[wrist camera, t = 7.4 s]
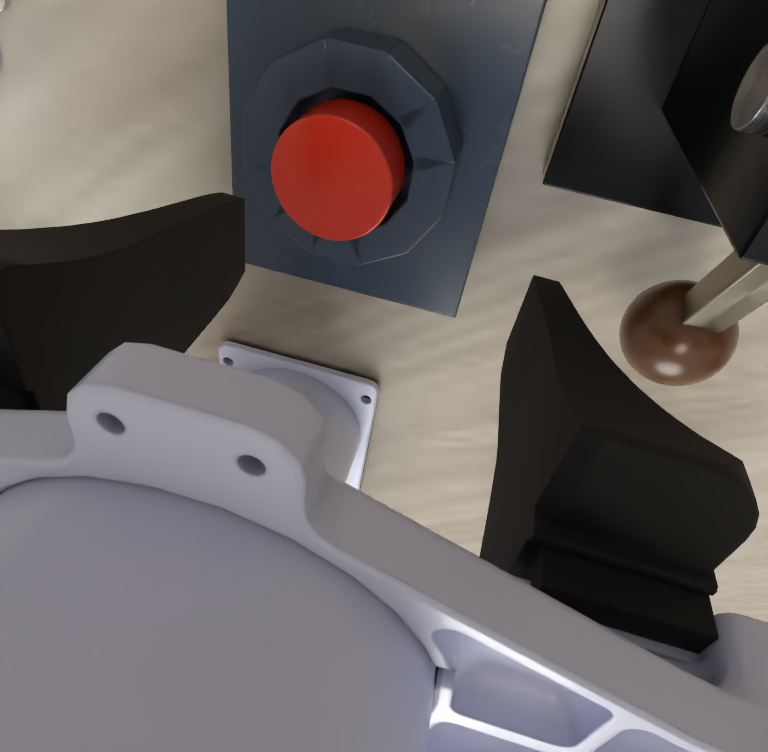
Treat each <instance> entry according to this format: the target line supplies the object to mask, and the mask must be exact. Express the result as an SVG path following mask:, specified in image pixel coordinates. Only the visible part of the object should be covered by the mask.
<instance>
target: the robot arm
mask: <svg viewBox="0 0 768 752" xmlns="http://www.w3.org/2000/svg"><path fill="white" fill-rule="evenodd" d="M244 272H245V199H244V198H241V197H237V196H233V195H229V194H226V193H222V192H221V193H213V194H208V195H204V196H200V197H196V198H192V199H189V200H185V201H181V202H178V203H174V204H171V205H167V206H164V207H160V208H156V209H153V210H149V211H144V212H140V213H136V214H132V215H128V216H123V217H119V218H115V219H110V220H104V221H99V222H93V223H86V224H79V225H71V226H62V227H48V228H35V229H18V230H0V752H768V622H764V621H761V620H758V619H754V618H751V617H748V616H744V615H741V614H735V613H719V614H716V615H713V611H712V606H711V602H710V597H709V595H711V596H713V595H714V594H715V593H716V592H717V588H718V585H717V581H716V577H715V573H714V569H715V568H716V567H718V566H719V565H720V564H721V563H722V562H723V561H724V560H725V559H726V558H727V557H728V556H729V555H731V554H732V553H733V552H734V551H735V550H736V549H737V548H738V547H739V546H740V545H741V544H742V543H744V542H745V541H746V540H747V538H748V537H749V536H750V534H751V533H752V532H753V531H754V529H755V528H756V525H757V521H758V517H759V511H758V506H757V502H756V498H755V495H754V492H753V489H752V486H751V483H750V480H749V477H748V475H747V472H746V469H745V467H744V464H743V462H742V460H740V459H738V458H737V457H735V456H733V455H732V454H730V453H728V452H727V451H725V450H723V449H722V448H720V447H718V446H717V445H715V444H713V443H712V442H710V441H708V440H707V439H705V438H703V437H702V436H700V435H698V434H697V433H695V432H694V431H693V430H691V429H690V428H688V427H687V426H686V425H684V424H683V423H681V422H680V421H678V420H677V419H676V418H674V417H673V416H672V415H670V414H669V413H668V412H666V411H665V410H664V409H663V408H661V407H660V406H659V405H658V404H657V403H655V402H654V401H653V400H652V399H651V398H650V397H648V396H647V395H646V394H645V393H644V392H643V391H641V390H640V389H639V388H638V387H637V386H636V385H635V384H634V383H633V382H632V381H631V380H630V379H629V378H628V377H627V376H626V375H625V374H624V373H623V372H622V371H621V369H620V368H619V367H618V366H617V365H616V364H615V363H614V362H613V361H612V360H611V358H610V357H609V356H608V355H607V353H606V352H605V351H604V350H603V348H602V347H601V346H600V344H599V343H598V342H597V340H596V339H595V338H594V336H593V335H592V333H591V332H590V331H589V329H588V328H587V326H586V325H585V323H584V322H583V320H582V318H581V317H580V315H579V314H578V312H577V310H576V309H575V307H574V305H573V304H572V302H571V300H570V299H569V297H568V295H567V294H566V292H565V290H564V289H563V287H562V285H561V284H560V282H558V281H554V280H550V279H547V278H543V277H539V276H535V275H534V276H533V278H532V281H531V283H530V286H529V288H528V291H527V293H526V296H525V298H524V301H523V303H522V306H521V309H520V311H519V314H518V316H517V319H516V321H515V324H514V326H513V329H512V331H511V334H510V336H509V339H508V341H507V345H506V350H505V356H504V361H503V366H502V372H501V382H500V404H499V429H498V449H497V460H496V467H495V473H494V479H493V485H492V492H491V497H490V503H489V509H488V514H487V520H486V526H485V531H484V536H483V542H482V547H481V552H480V557H478V556H477V555H475V554H473V553H471V552H469V551H467V550H466V549H464V548H462V547H460V546H458V545H457V544H455V543H453V542H451V541H449V540H448V539H446V538H444V537H442V536H440V535H439V534H437V533H435V532H433V531H431V530H430V529H428V528H426V527H424V526H422V525H421V524H419V523H417V522H415V521H413V520H412V519H410V518H408V517H406V516H404V515H403V514H401V513H399V512H397V511H395V510H394V509H392V508H390V507H388V506H386V505H385V504H383V503H381V502H379V501H377V500H376V499H374V498H372V497H370V496H368V495H367V494H365V493H363V492H361V491H359V489H360V484H361V479H362V474H363V469H364V464H365V459H366V454H367V449H368V444H369V439H370V434H371V429H372V424H373V419H374V413H375V408H376V403H377V398H378V393H379V386H378V385H377V383H375V382H374V381H372V380H370V379H366V378H362V377H359V376H355V375H351V374H348V373H344V372H340V371H337V370H333V369H329V368H326V367H322V366H318V365H315V364H311V363H307V362H304V361H300V360H296V359H293V358H289V357H285V356H282V355H278V354H274V353H271V352H267V351H263V350H260V349H256V348H252V347H249V346H245V345H241V344H238V343H234V342H230V341H225V342H223V343H222V344H221V346H220V347H219V350H218V351H219V363H216V362H212V361H209V360H205V359H202V358H198V357H195V356H191V355H188V354H184V353H185V352H186V350H187V349H188V348H189V347H190V346H191V344H192V343H193V342H194V341H195V340H196V338H197V337H198V336H199V335H200V334H201V332H202V331H203V330H204V329H205V328H206V327H207V325H208V324H209V323H210V322H211V321H212V319H213V318H214V317H215V316H216V315H217V313H218V312H219V311H220V310H221V308H222V307H223V306H224V305H225V303H226V302H227V301H228V300H229V298H230V296H231V295H232V293H233V291H234V290H235V288H236V286H237V285H238V283H239V281H240V279H241V277H242V276H243V274H244ZM227 357H228V358H230V359H231V360H232V361H231V360H229V359H228V358H227ZM364 395H365V396H368V397H370V398H366V397H364Z"/></svg>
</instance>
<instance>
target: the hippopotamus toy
mask: <svg viewBox="0 0 768 752" xmlns="http://www.w3.org/2000/svg"><path fill="white" fill-rule="evenodd" d="M5 1H6V0H0V12H1V11H2V10H3V9H4V5H5Z"/></svg>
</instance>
